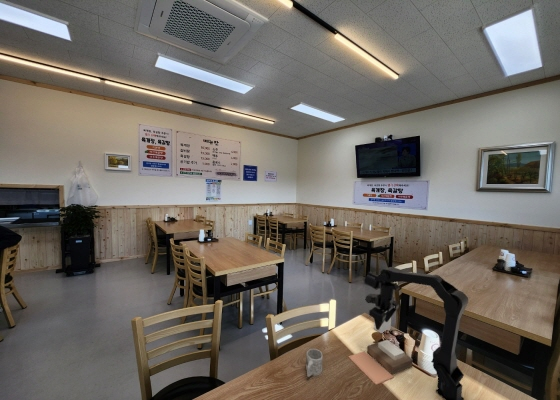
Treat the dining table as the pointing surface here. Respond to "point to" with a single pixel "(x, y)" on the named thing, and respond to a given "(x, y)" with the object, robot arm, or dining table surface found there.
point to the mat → (371, 368)
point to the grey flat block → (391, 349)
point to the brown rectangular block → (389, 360)
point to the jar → (383, 325)
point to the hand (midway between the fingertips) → (381, 325)
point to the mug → (314, 362)
